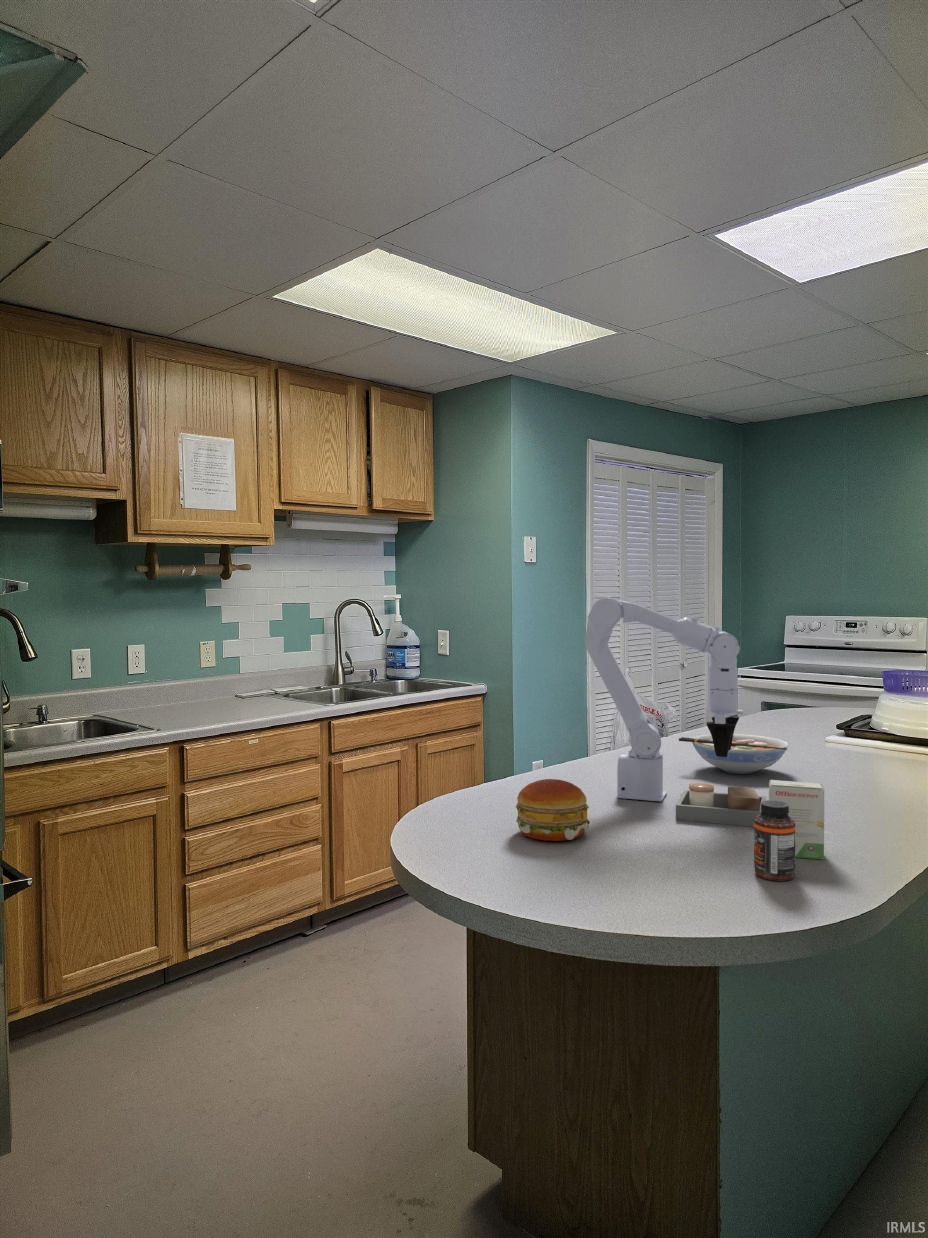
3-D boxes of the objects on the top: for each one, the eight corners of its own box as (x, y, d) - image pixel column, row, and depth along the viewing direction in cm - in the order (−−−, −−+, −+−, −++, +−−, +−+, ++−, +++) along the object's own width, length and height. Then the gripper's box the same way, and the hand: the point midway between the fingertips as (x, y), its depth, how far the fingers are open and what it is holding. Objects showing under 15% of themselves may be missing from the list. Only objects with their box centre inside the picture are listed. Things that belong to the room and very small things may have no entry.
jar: (687, 815, 161) (687, 787, 161) (690, 809, 166) (690, 782, 166) (712, 817, 159) (712, 789, 159) (715, 811, 164) (715, 784, 164)
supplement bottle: (747, 870, 129) (747, 798, 128) (783, 868, 129) (784, 797, 129) (764, 883, 123) (764, 808, 123) (802, 882, 123) (802, 807, 123)
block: (731, 823, 156) (731, 797, 156) (727, 811, 164) (727, 786, 164) (759, 825, 155) (759, 798, 154) (753, 812, 163) (753, 787, 163)
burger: (502, 829, 152) (502, 776, 152) (566, 821, 158) (565, 769, 157) (537, 850, 140) (537, 792, 140) (604, 840, 145) (604, 784, 145)
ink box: (768, 855, 136) (768, 785, 136) (767, 846, 141) (768, 778, 140) (824, 860, 133) (825, 788, 133) (821, 851, 138) (822, 781, 138)
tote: (675, 819, 158) (675, 805, 158) (684, 803, 170) (684, 790, 170) (763, 827, 152) (763, 812, 152) (766, 810, 164) (766, 796, 164)
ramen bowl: (801, 768, 204) (801, 735, 204) (782, 786, 185) (782, 750, 185) (701, 758, 217) (701, 727, 217) (674, 774, 198) (674, 740, 198)
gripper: (740, 693, 164) (740, 760, 164) (745, 686, 177) (745, 748, 178) (704, 692, 167) (704, 758, 167) (712, 685, 180) (712, 746, 180)
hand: (723, 753), depth 173 cm, fingers open, 7 cm apart
